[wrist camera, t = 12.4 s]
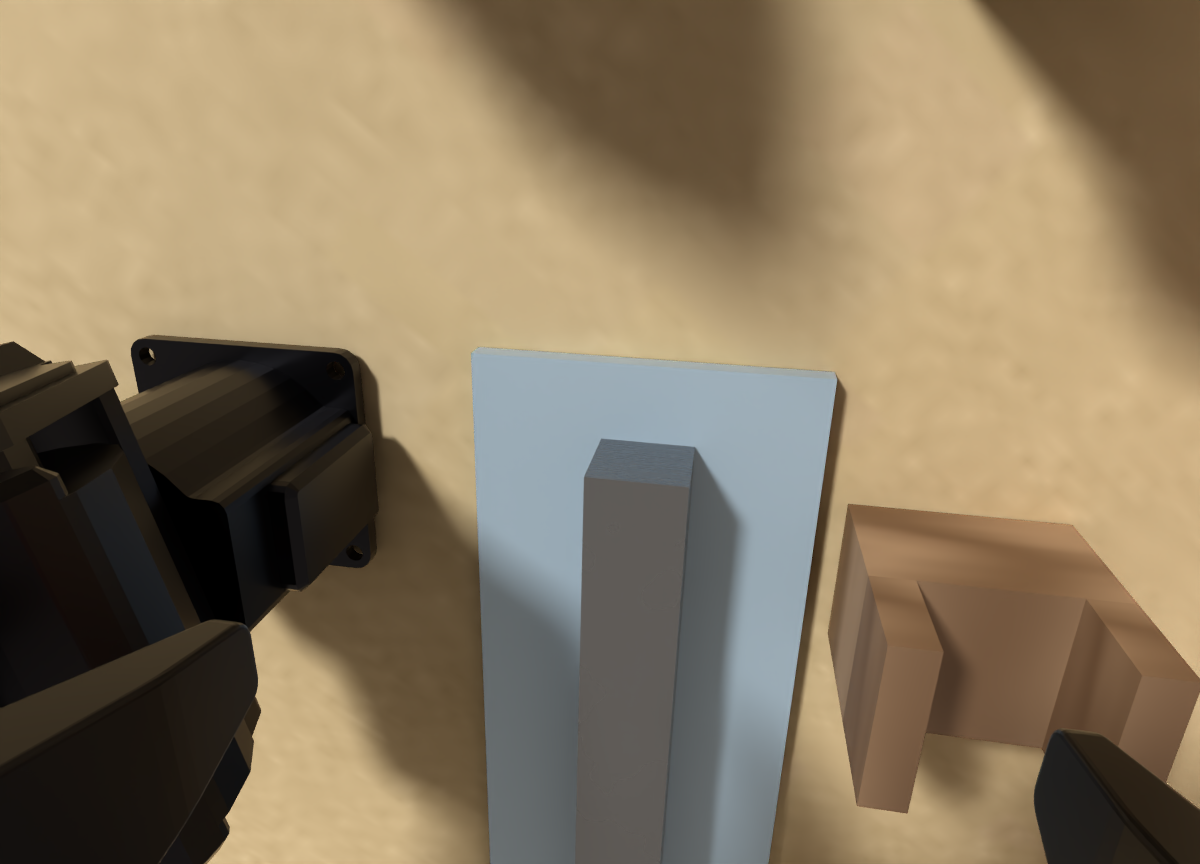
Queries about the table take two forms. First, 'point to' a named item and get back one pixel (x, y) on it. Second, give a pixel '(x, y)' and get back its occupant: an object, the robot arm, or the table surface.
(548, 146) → the table surface
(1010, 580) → the stand
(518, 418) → the mat
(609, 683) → the rail
